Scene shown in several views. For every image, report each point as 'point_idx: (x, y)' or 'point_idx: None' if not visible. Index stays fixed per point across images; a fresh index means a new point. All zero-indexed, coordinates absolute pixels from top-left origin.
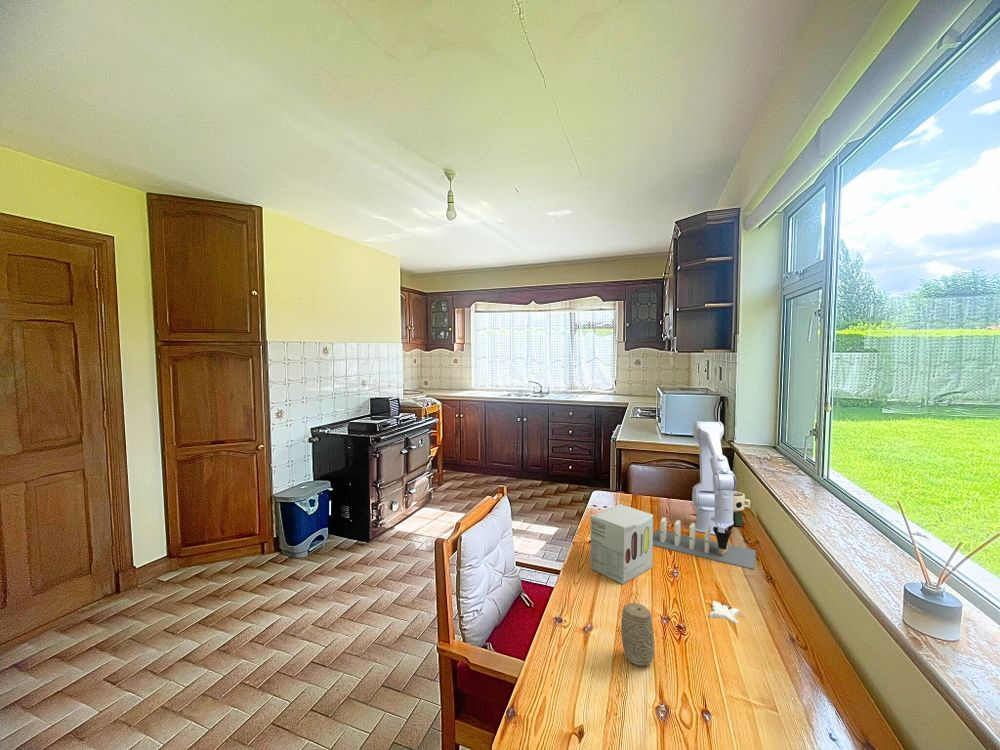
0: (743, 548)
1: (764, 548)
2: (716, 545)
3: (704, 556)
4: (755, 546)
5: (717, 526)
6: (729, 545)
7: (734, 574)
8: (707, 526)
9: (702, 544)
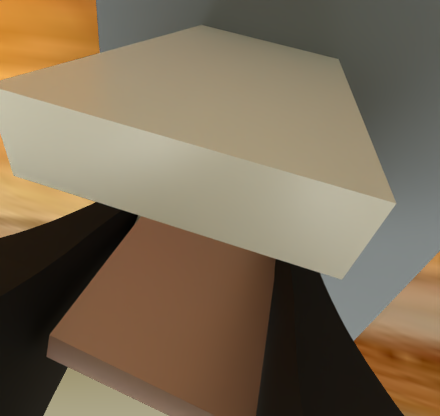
0: (362, 316)
1: (393, 386)
2: (401, 169)
3: (107, 15)
4: (419, 369)
5: (301, 392)
6: (409, 262)
7: (12, 182)
8: (321, 212)
9: (423, 13)
